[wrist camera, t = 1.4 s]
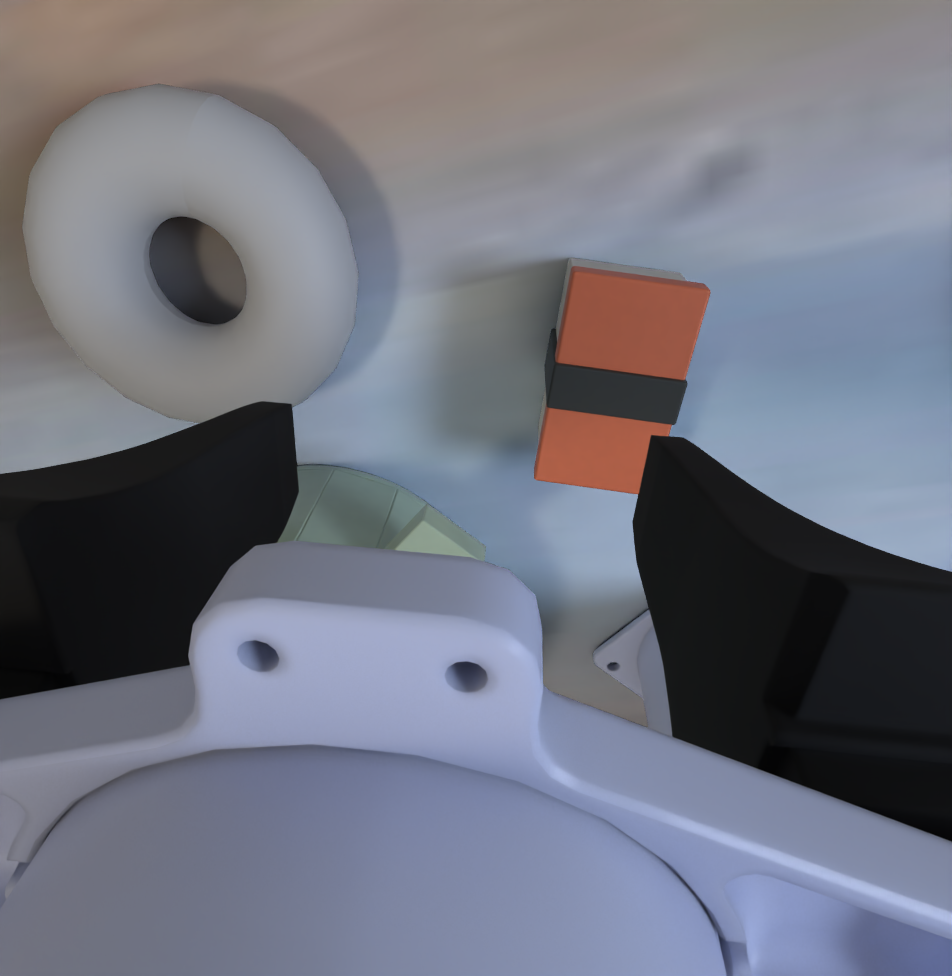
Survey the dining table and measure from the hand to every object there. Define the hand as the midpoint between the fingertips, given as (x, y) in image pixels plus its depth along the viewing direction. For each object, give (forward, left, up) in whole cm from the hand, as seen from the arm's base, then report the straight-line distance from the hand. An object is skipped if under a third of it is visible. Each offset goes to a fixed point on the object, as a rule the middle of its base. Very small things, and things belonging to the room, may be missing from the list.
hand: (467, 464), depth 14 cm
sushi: (-4, -2, -10) cm, 11 cm away
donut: (+8, +4, -10) cm, 14 cm away
